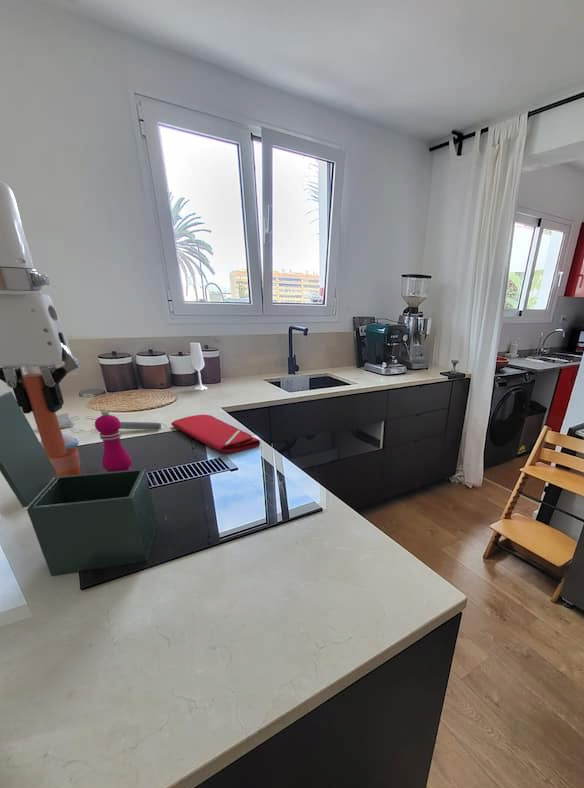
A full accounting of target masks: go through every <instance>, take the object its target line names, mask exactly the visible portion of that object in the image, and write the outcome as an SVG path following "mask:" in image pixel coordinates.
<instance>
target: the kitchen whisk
mask: <svg viewBox="0 0 584 788" xmlns="http://www.w3.org/2000/svg"><path fill="white" fill-rule="evenodd" d="M88 417H89V418H88ZM88 417H86V420H93V421H96V419H97V418H98V417H96V416H94V418H93V416H92V415H91V416H90V415H88ZM90 417H91V418H90ZM74 418H75V421H78V420H79V418H78V415H75V416H73V417H71V418H70V419H71V420H74ZM70 419H69V420H70ZM70 422H71V421H70ZM70 422H68V426H70V425H73V426H74V423H73V424H69V423H70ZM120 424H121V427H120V429H119V430H162V429H163V430H164V429H165V428H168V427H167V425H166V424H164V423H161V422H149V421H146V422H145V421H120ZM162 425H164V426H165V427H163V428H162ZM68 426H67V427H66V428H68V429H69V430H71V431H72V432H74V433H77V434H79V431H80V432H83V429H78V432H77V429H75V428H73V426H72V427H71V426H70V427H68ZM95 432H99V431H98V430H96V428H95V429H92V431H91V434H94V433H95Z"/></svg>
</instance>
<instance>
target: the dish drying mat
mask: <svg viewBox="0 0 584 788" xmlns="http://www.w3.org/2000/svg"><path fill="white" fill-rule="evenodd" d="M170 425H171V426H172V427H174V428H176V429H178V430H179V431H181V432H182V433H184V434H186V435H187V436H189V437H191V438H193V439H195V440H197V441H199V442H200V443H202V444H204V445H206V446H208V447H210V448H212V449H214V450H217V451H219V452H222V453H227V454H228V453H229V454H230V453H236V452H240V451H245V450H249V449H253V447H254V448H257V447H256V446H258V447H260V445H261V440H259V439H258V438H256V437H254V436H252V434H250V433H248V432H246V431H243V430H241V429H239V428H237V427H235V426H233V425H231V424H229V423H227V422H225V421H222V420H220V419H218V418H217V417H215V416H212V415H210V414H195V415H191V416H185V417H182V418H178V419H175V420H173V421H172V422H171V423H170Z"/></svg>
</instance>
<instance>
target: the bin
mask: <svg viewBox="0 0 584 788" xmlns="http://www.w3.org/2000/svg"><path fill="white" fill-rule="evenodd" d="M26 511H27V514H28V517H29V519H30V522H31V524H32V528H33V531H34V533H35V535H36V538H37V539H36V540H37V541H38V544H39V546H40V550H41V552H42V555H43V558H44V560H45V563H46V565H47V568H48V571H49V574H50V576H51V577H55V576H60V575H69V574H74V573H75V574H76V573H82V572H87V571H95V570H102V569H108V568H115V567H116V568H117V567H121V566H122V567H123V566H128V565H135V564H143V563H147V562H148V560H149V557H150V553H151V550H152V547H153V543H154V539H155V536H156V533H157V529H158V523H157V518H156V517H157V516H156V512H155V507H154V503H153V498H152V494H151V488H150V485H149V480H148V475H147V470H146V468H138V469H132V470H126V471H115V472H108V471H106V472H105V471H104V472H93V473H83V474H82V473H81V475H70V476H59V477H55V478H53V479H52V481H51V482H50V483H49V484H48V485H47V486H46V487H45V488H44V489H43V490H42V492H41V493H40V494H39V495H38V496H37V497H36V498H35V499H34V500H33V501H32V503H31V504H30V505H29V506H27V507H26Z"/></svg>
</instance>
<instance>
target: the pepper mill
mask: <svg viewBox="0 0 584 788" xmlns="http://www.w3.org/2000/svg"><path fill="white" fill-rule="evenodd" d="M100 414H101V415H100V416H98V417H97V418H95V419H96V420H94V428H95V429H96V430H98V431H97V432H98V433H99V436H100V437H99V438H100V440H102V442H103V447H104V448H103V455H102V460H101V463H102V468H103V469H104V470H106V472H115V471H126V470H133V469H132V468H131V465H132V464H133V463H132V457H131V456H130V453H128V452H127V451H126V449H125V447H124V445H123V444H122V441H121V436H122V433H121V429H120V427H121V424H120V422H121V421H120V419H119V418H118V416H115V415H114V414H113V415H112V414H110V412H109V410H107V409H103V410H101V412H100Z"/></svg>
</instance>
